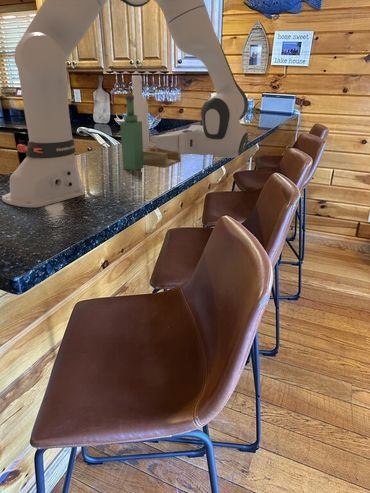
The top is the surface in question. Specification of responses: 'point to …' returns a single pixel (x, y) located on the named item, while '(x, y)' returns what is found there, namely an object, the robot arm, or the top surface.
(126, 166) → the green bottle
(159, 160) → the oak rest
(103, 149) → the top surface
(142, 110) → the bottle
